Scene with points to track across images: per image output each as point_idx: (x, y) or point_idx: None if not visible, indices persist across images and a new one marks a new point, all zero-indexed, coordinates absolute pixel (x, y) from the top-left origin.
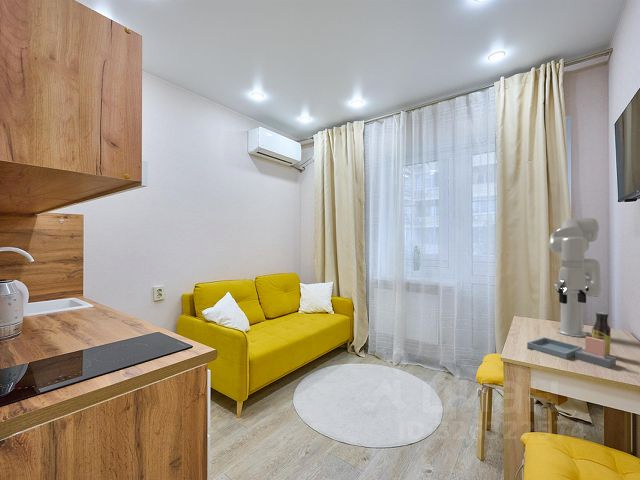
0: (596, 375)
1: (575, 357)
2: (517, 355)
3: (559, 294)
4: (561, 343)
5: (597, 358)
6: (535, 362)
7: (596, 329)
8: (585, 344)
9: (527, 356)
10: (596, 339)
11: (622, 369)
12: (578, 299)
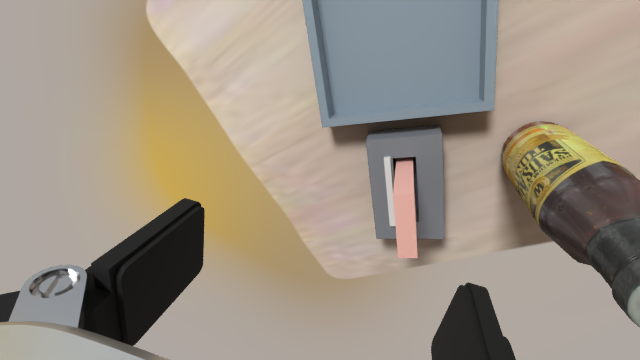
0: (295, 221)
1: (369, 135)
2: (195, 8)
3: (104, 258)
4: (485, 13)
5: (373, 208)
6: (206, 87)
7: (547, 207)
8: (395, 178)
9: (224, 32)
10: (398, 234)
11: (426, 240)
12: (463, 312)
